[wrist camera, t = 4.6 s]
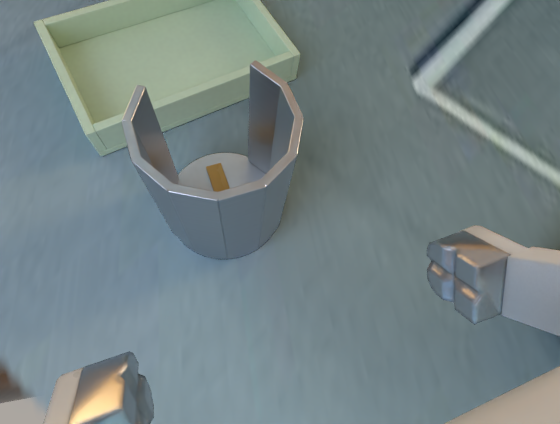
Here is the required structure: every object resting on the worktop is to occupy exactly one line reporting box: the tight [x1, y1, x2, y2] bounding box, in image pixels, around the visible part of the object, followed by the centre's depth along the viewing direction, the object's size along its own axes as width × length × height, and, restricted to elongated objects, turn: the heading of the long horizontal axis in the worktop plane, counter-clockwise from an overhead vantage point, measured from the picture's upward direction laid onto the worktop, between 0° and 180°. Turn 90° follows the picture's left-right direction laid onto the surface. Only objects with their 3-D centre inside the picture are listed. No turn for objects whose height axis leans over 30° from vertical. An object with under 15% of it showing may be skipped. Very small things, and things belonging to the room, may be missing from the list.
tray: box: [34, 0, 300, 156], centre depth 26 cm, size 15×10×2 cm
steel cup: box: [122, 60, 304, 259], centre depth 19 cm, size 7×7×9 cm
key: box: [206, 163, 230, 192], centre depth 22 cm, size 5×2×1 cm, turn 20°
